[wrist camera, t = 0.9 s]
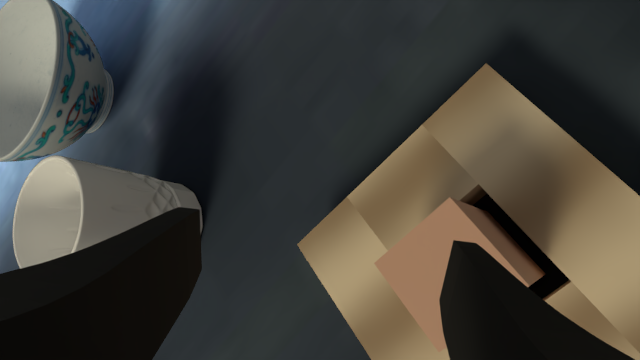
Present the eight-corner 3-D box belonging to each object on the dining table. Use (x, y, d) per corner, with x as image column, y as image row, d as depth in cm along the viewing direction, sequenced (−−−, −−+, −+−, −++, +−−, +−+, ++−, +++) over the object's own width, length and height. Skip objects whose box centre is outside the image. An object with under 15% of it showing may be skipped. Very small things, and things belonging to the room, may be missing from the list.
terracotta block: (545, 274, 21) (529, 285, 14) (482, 321, 22) (438, 352, 16) (488, 212, 23) (449, 197, 16) (432, 259, 24) (373, 263, 17)
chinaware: (113, -1, 44) (32, -44, 38) (162, 102, 38) (75, 71, 32) (40, 99, 49) (-43, 76, 43) (72, 204, 43) (-19, 196, 36)
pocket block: (741, 299, 18) (769, 308, 15) (472, 465, 22) (458, 494, 19) (496, 83, 24) (486, 63, 21) (322, 244, 28) (297, 244, 25)
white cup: (223, 203, 33) (99, 187, 24) (184, 294, 34) (50, 309, 25) (164, 162, 37) (40, 137, 28) (130, 245, 38) (-1, 244, 29)
